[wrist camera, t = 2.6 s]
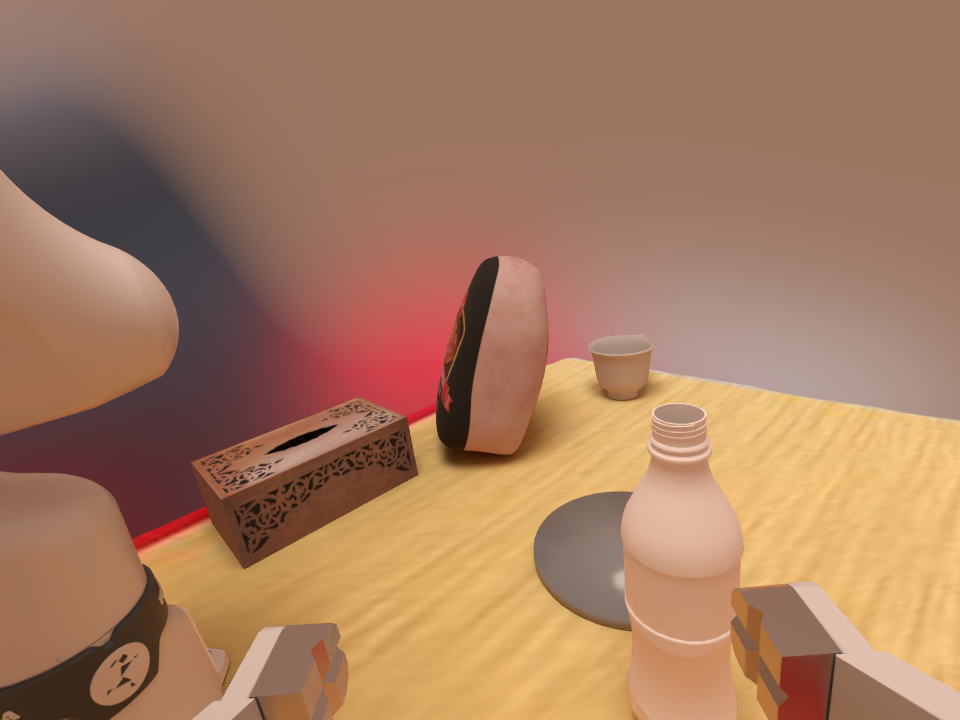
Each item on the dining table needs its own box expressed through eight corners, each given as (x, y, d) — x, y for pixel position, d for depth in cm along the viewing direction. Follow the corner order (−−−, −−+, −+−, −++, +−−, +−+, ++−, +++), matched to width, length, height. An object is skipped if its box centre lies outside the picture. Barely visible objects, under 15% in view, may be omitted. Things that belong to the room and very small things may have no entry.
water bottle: (611, 696, 39) (592, 405, 31) (690, 665, 40) (690, 381, 33) (668, 795, 32) (662, 455, 24) (759, 754, 34) (781, 422, 26)
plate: (509, 604, 49) (507, 594, 48) (560, 491, 66) (559, 483, 65) (736, 656, 40) (737, 645, 40) (727, 511, 58) (727, 503, 57)
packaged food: (439, 420, 93) (412, 260, 84) (541, 404, 94) (526, 244, 85) (442, 482, 72) (407, 278, 63) (573, 460, 73) (557, 256, 64)
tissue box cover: (245, 571, 59) (221, 499, 56) (212, 524, 70) (190, 462, 67) (418, 476, 75) (406, 416, 72) (370, 450, 85) (358, 397, 82)
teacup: (675, 383, 95) (674, 334, 92) (636, 412, 85) (634, 358, 82) (619, 374, 103) (616, 328, 100) (578, 399, 94) (574, 349, 91)
